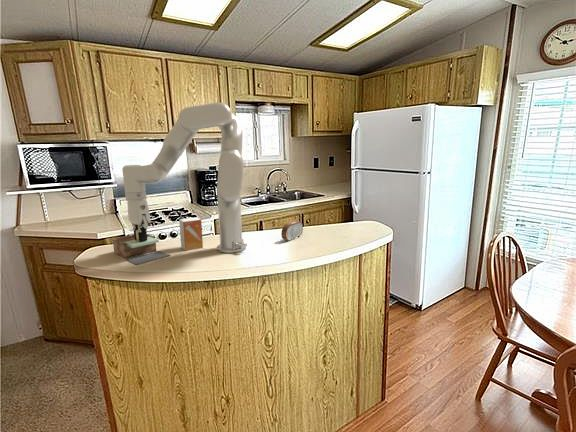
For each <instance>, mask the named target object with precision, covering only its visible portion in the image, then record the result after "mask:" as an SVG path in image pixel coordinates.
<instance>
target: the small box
mask: <svg viewBox="0 0 576 432" xmlns="http://www.w3.org/2000/svg"><path fill="white" fill-rule="evenodd" d="M178 220H179V221H178V222H179V235H180V237H179V238H180V247H181V249H182V250H184V251H190V250H198V249H204V242H203V239H204V238H203V228H202V227H203V225H202V224H203V223H202V218H199V217H197V216H196V217H187V218H181V219H180V218H179V219H178Z"/></svg>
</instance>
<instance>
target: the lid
mask: <svg viewBox="0 0 576 432" xmlns="http://www.w3.org/2000/svg"><path fill="white" fill-rule="evenodd" d="M138 232H139V230H136V238H137V240H131V241H126V242H124V243H126V246H129V247H131V248H135V247H140V246H144V245H148V244H152V243H156V244H157V243H159V239H158V238H156V237H155V238H152V237H147V241H143V242H139V236H138Z"/></svg>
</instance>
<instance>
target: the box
mask: <svg viewBox="0 0 576 432" xmlns="http://www.w3.org/2000/svg"><path fill="white" fill-rule="evenodd" d="M147 237H152V238H155V239H156V236H154V235H151V234H149V233H147ZM131 240H135V238H134V233H133V234H129V235H125V236H120V237H119V236H118V237H115V238H112V244H113V245H112V246H113V253H114V255H117V256H119V257H121V258H123V259H125V260H126V259H129V258H133V257H136V256H140V255H144V254H148V253H152V252H156V251H157V243H152V244H148V245H144V246H140V247H135V248H131V247H129V246H126V243H124V242H126V241H131Z"/></svg>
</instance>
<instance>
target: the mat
mask: <svg viewBox="0 0 576 432" xmlns="http://www.w3.org/2000/svg"><path fill="white" fill-rule="evenodd" d="M170 256H171V254H169V253H166V252H163V251H162V250H156V251H154V252H150V253H147V254H143V255H139V256H135V257H131V258H127V259H125V261H127V262H129V263H131V264H133V265H136V266H139V265H142V264H146V263H149V262H153V261H156V260H160V259H163V258H167V257H170Z"/></svg>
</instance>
